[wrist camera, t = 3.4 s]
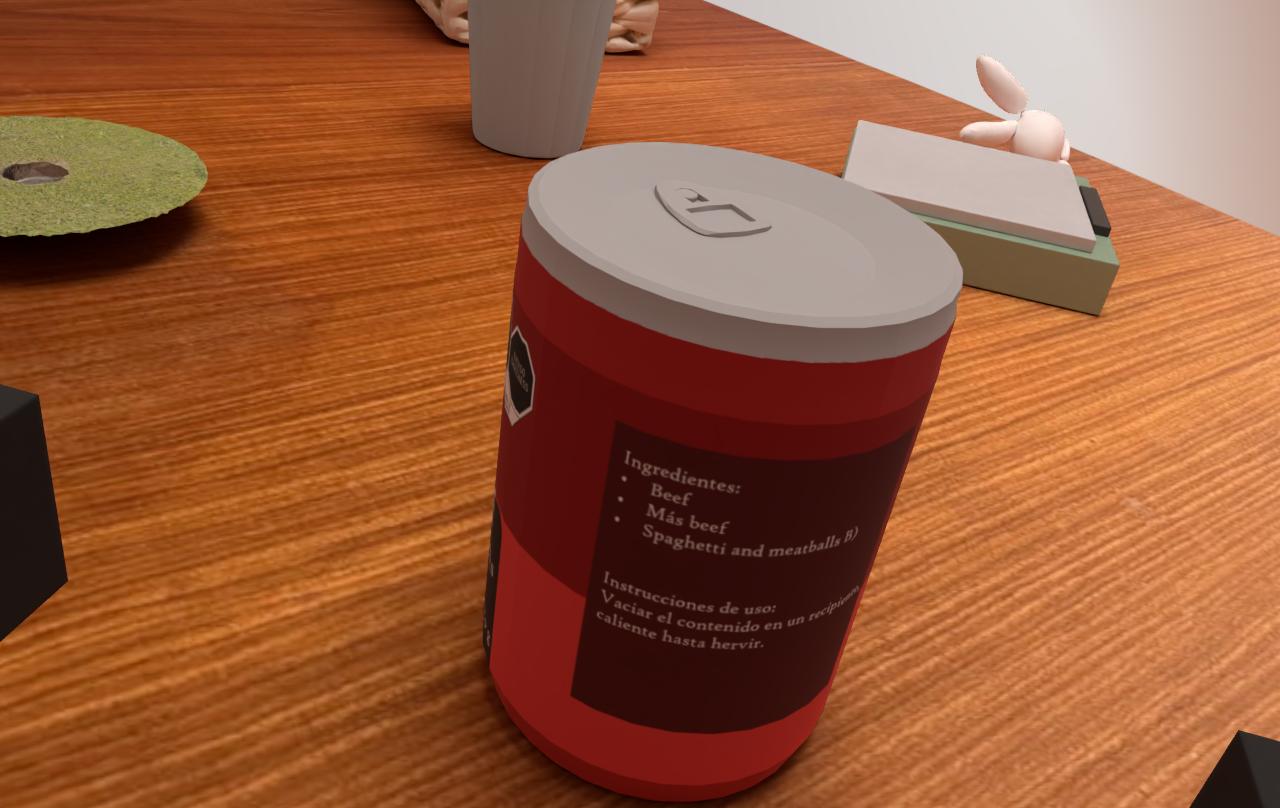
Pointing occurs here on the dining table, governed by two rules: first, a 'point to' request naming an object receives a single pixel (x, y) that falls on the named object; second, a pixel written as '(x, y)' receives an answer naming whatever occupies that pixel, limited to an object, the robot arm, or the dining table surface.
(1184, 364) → the dining table surface
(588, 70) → the cup
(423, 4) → the basket
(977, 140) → the rabbit figurine
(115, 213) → the green grinding disc
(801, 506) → the canned food
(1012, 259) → the scale
